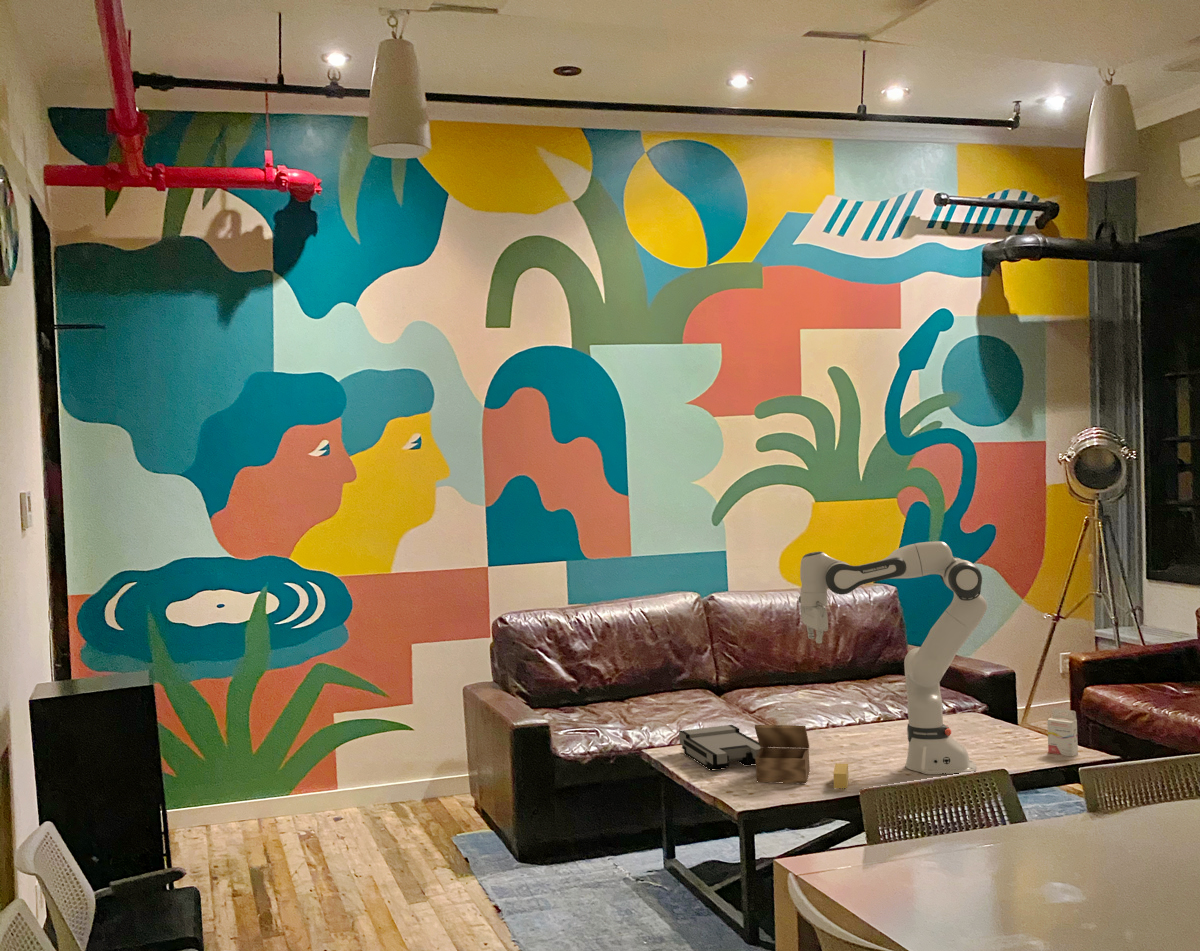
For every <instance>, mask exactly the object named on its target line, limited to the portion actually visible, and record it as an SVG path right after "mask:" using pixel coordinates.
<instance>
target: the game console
mask: <svg viewBox="0 0 1200 951" xmlns="http://www.w3.org/2000/svg"><path fill="white" fill-rule="evenodd" d="M678 737H679V741H678V742H679V744H680V745H681V748H682V750H683V754H684V753H685V754H686V755H685V754H684V755H685V756H687V755H688V756H690V757H691V758H693V759H695V760H696V761H698V762H699V763H701V764H702V765H704V766H705V767H707V768H708V769H710V770H712V769H721V768H726V769H727V767H729V766H730V762H731V763H732V762H738V761H739V762H741V763H742V764H741V763H740V764H741V765H743V764H744V765H751V764H756V760H755V758H756V756H757V754H758V752H759V750H760V748H761V747H760V745H759V741H758V740H756V739H754V738H751V737H749V736H748V735H745V734H744V733H742V732H740V728H739V727H737V726H735V725H734V724H733V725H732V724H726V725H719V726H711V727H709V726H708V727H700V728H693V729H683V730H679V731H678ZM765 748H769V747H765ZM688 756H687V757H688ZM690 757H689V758H690ZM691 758H690V759H691ZM693 759H692V760H693ZM696 761H695V762H696ZM739 762H738V763H739ZM699 763H698V764H699ZM702 765H701V766H702ZM744 765H743V766H744ZM704 766H703V767H704ZM705 767H704V768H705ZM707 768H706V769H707ZM708 769H707V770H708ZM710 770H709V771H710ZM721 770H722V769H721Z"/></svg>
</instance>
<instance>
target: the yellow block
mask: <svg viewBox="0 0 1200 951" xmlns="http://www.w3.org/2000/svg"><path fill="white" fill-rule="evenodd" d="M833 768H834V770H833V774H832V776H833V789H834V788H838V789H837V790H845V789H844V788H847V789H848V786H849V780H848V778H849V763H838V762H836V763H835V764H834V767H833ZM847 785H848V786H847ZM839 788H841V789H839ZM842 788H843V789H842Z"/></svg>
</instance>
